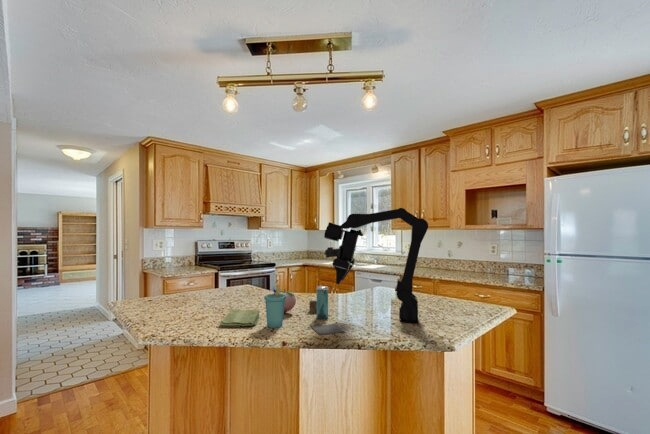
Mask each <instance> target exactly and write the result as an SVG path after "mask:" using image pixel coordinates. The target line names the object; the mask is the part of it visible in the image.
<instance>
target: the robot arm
mask: <svg viewBox="0 0 650 434" xmlns="http://www.w3.org/2000/svg"><path fill="white" fill-rule="evenodd" d="M397 219H400V220H402V221H403V222H405V223H406V224H407V225H409V226H410V227H411V230H410V231H411V236H410V237H411V238H410V245H409V248H408V253H407V257H406V262H405V266H404V270H403V274H402V276H401V279H400V278H397V280H396V281H397V283H396V286H395V287H394V291H395V292H396V294H395V295H396V297H397V299H398V300H399V301H401V303H400V306H399V308H398V310H399V314H398V316H399V317H398V318H399V320H400V323H410V324H419V302H418V298H417V296H416V295H415V294H414V293H413V281H414V280H413V279H414V274H415V271H416V270H415V269H416V265H417V262H418V258H419V253H420V248H421V244H422V242H423V239H424V238H425V235H426V233H427V232H428V229H429V223H428V221H427V220H426V219H424V218H418V217H416V215H413V214H412V213H410V212H409V211H407V210H406V209H405V208H403V207H399V208H395V209H391V210H385V211H380V212H379V211H378V212H372V213H351V214H349V215H348V216H347V218H346V220H345V221H344V222H343V223H342V224H336V223H333V222H328V224H327V226H326V229H325V230H324V235H323V236H324V237H323V238H324V239H327V240H331V241H334V242H339V240H342V241H341V244H340V245H339V247H338V248H334V247H332V246H331V247H330V246H329V247H327V249H325V252H324V254H325V258H326V259H328V258H333V257H336V258H334V259H333V260H332V267H333V268H334V269H335V271H336V272H335V277H336V278H335V282H336V283H335V284H336V285H340V283H341V282H342V281H344V279H346V277H347V275H348V274H349V273H350V272H351V270H352V269H353V267H354V265H355V263H356V259H355V257H354V254H355V252H356V247H357V242H358V239H359V237H364V234H363V232H362V230H361V229H359V228H362V227H363V226H364V227H365V226H368V225H370V224H373V223H379V222H384V221H392V220H397ZM345 229H346V230H345ZM348 229H350V230H348ZM356 229H358V230H356Z"/></svg>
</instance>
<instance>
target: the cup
mask: <svg viewBox="0 0 650 434" xmlns="http://www.w3.org/2000/svg"><path fill="white" fill-rule="evenodd" d="M280 291H281V287H280V285H279V284H278V283H277V284H276V285H275V286H273V293H272V294H270V293H268V294H265V296H264V295H263V296H264V300H265V313H266V314H265V315H266V326H267V327H268V328H269V327H271V329H277V328H276V327H278V328H281V327H283V320H284V314H285V313H284V303H285V299H286V296H285V295H283V294H280Z"/></svg>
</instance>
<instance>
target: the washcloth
mask: <svg viewBox="0 0 650 434" xmlns="http://www.w3.org/2000/svg"><path fill="white" fill-rule="evenodd" d="M259 318H260V309H237V308H234V309H232V308H231V309H230V310H229V311H228V313H227V314H226V315H225V317H223V318H222V319H221V321H220V322H219V327H221V328H238V327H240V326H242V327H257V325H258V322H259Z"/></svg>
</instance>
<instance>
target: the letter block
mask: <svg viewBox="0 0 650 434" xmlns="http://www.w3.org/2000/svg"><path fill="white" fill-rule="evenodd" d="M309 313H317V298H311V299H310V300H309Z"/></svg>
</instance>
